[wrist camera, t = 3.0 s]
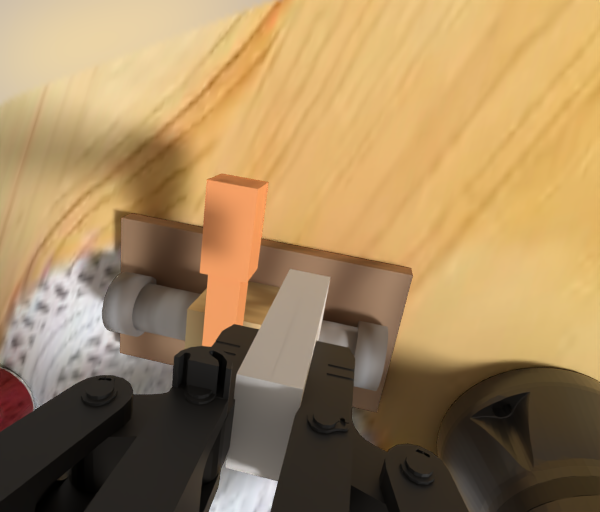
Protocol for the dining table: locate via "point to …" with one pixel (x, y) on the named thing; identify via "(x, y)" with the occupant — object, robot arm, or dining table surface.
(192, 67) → the dining table surface
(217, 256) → the valve lever
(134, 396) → the robot arm
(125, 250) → the valve stand
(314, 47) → the dining table surface
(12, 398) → the soda can
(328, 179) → the dining table surface
